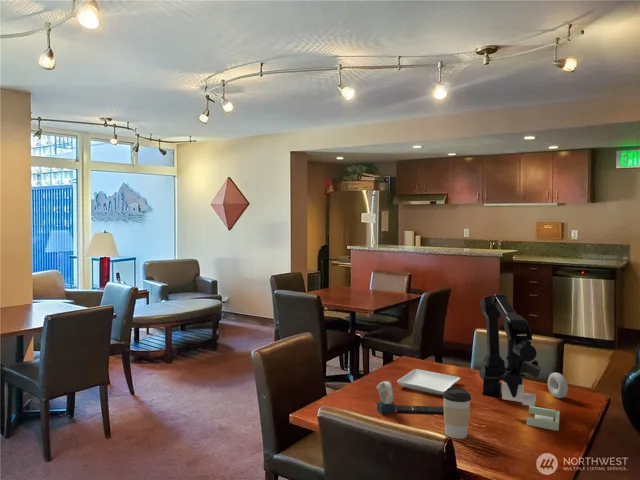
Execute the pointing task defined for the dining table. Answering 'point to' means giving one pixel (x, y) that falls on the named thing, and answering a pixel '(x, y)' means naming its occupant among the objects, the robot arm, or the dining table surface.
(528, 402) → the scraper
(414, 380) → the salad plate
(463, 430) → the coffee cup
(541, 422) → the green c-shaped block
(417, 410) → the remote control
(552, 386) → the donut
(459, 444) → the dining table surface
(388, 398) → the abstract loop sculpture
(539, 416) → the tile
